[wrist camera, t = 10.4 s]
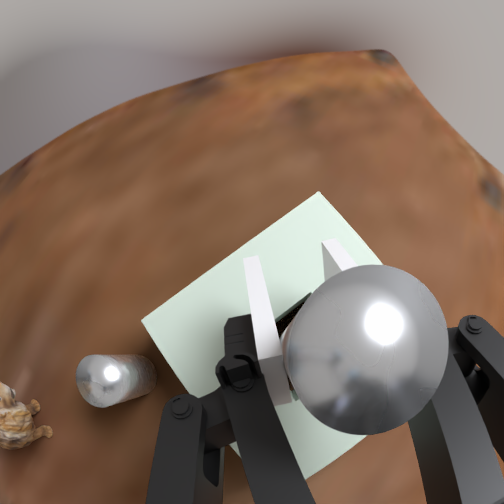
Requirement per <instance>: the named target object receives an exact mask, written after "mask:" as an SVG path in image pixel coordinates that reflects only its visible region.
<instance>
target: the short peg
mask: <svg viewBox="0 0 504 504" xmlns="http://www.w3.org/2000/svg"><path fill="white" fill-rule="evenodd" d="M76 383H77V387H78V389H79V392H80V393H81V395H82V397H83V398H84V399H85V400H86V401H87V402H88V403H90V404H91V405H93V406H96V407H102V408H103V407H108V406H111V405H114V404H118V403H121V402H124V401H127V400H130V399H134V398H137V397H140V396H143V395H146V394H148V393H150V392H151V391H152V390H153V389H154V388H155V386H156V383H157V372H156V369H155V367H154V365H153V363H152V362H151V361H150V360H149V359H148V358H146V357H144V356H142V355H89V356H86V357H85V358H83V359H82V360H81V362H80V363H79V365H78V367H77V370H76Z"/></svg>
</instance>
